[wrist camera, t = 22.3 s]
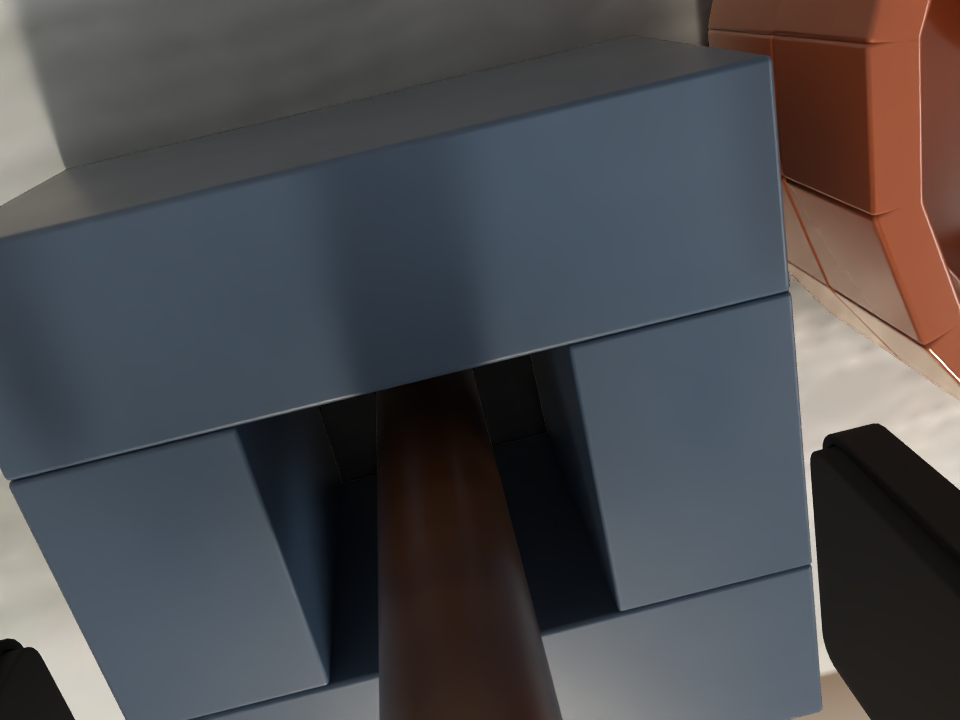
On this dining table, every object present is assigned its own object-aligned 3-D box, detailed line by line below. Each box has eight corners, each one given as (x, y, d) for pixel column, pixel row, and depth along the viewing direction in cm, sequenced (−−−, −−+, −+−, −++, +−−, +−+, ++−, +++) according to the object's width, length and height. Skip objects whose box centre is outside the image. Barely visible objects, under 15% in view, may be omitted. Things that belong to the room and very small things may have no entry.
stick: (368, 316, 17) (360, 1065, 5) (460, 302, 17) (650, 1005, 5) (384, 399, 18) (407, 1216, 6) (471, 384, 18) (662, 1163, 6)
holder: (63, 169, 16) (-107, 263, 10) (634, 33, 16) (774, 54, 10) (248, 626, 20) (199, 872, 14) (699, 514, 20) (824, 713, 14)
